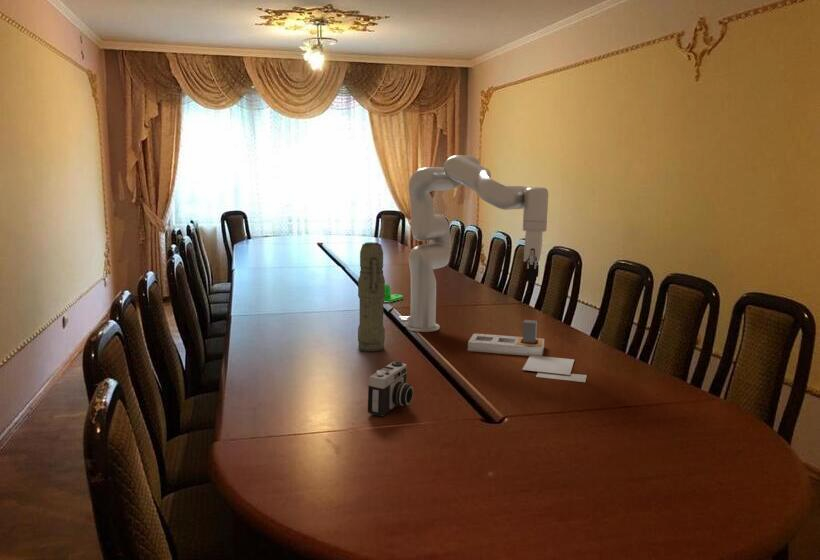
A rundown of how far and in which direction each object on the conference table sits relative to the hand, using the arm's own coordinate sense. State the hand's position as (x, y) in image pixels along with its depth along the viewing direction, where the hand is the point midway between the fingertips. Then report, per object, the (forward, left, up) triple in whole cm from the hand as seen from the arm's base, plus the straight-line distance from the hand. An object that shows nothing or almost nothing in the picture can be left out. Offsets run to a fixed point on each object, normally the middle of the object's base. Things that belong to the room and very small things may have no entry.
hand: (532, 278), depth 209 cm
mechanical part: (-66, +66, -25) cm, 97 cm away
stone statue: (-51, -12, -24) cm, 58 cm away
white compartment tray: (-7, 0, -24) cm, 25 cm away
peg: (0, 0, -24) cm, 24 cm away
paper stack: (+12, -19, -25) cm, 34 cm away
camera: (-29, -62, -24) cm, 73 cm away
